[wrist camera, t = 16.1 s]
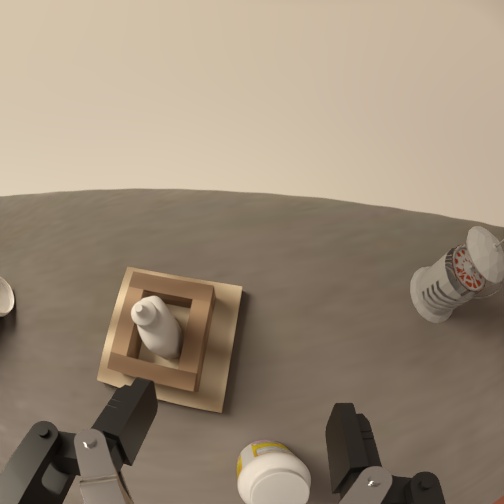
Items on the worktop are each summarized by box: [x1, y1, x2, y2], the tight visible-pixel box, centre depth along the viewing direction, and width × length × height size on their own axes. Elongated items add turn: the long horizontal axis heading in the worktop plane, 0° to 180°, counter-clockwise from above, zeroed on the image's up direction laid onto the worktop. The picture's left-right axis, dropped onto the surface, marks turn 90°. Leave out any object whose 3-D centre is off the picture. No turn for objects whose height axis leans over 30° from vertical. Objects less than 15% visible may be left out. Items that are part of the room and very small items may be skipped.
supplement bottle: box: [237, 440, 311, 504], centre depth 21 cm, size 7×7×13 cm
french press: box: [410, 226, 504, 323], centre depth 27 cm, size 10×12×25 cm
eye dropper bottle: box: [131, 296, 183, 360], centre depth 27 cm, size 4×6×12 cm
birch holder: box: [97, 267, 242, 413], centre depth 32 cm, size 16×16×6 cm
